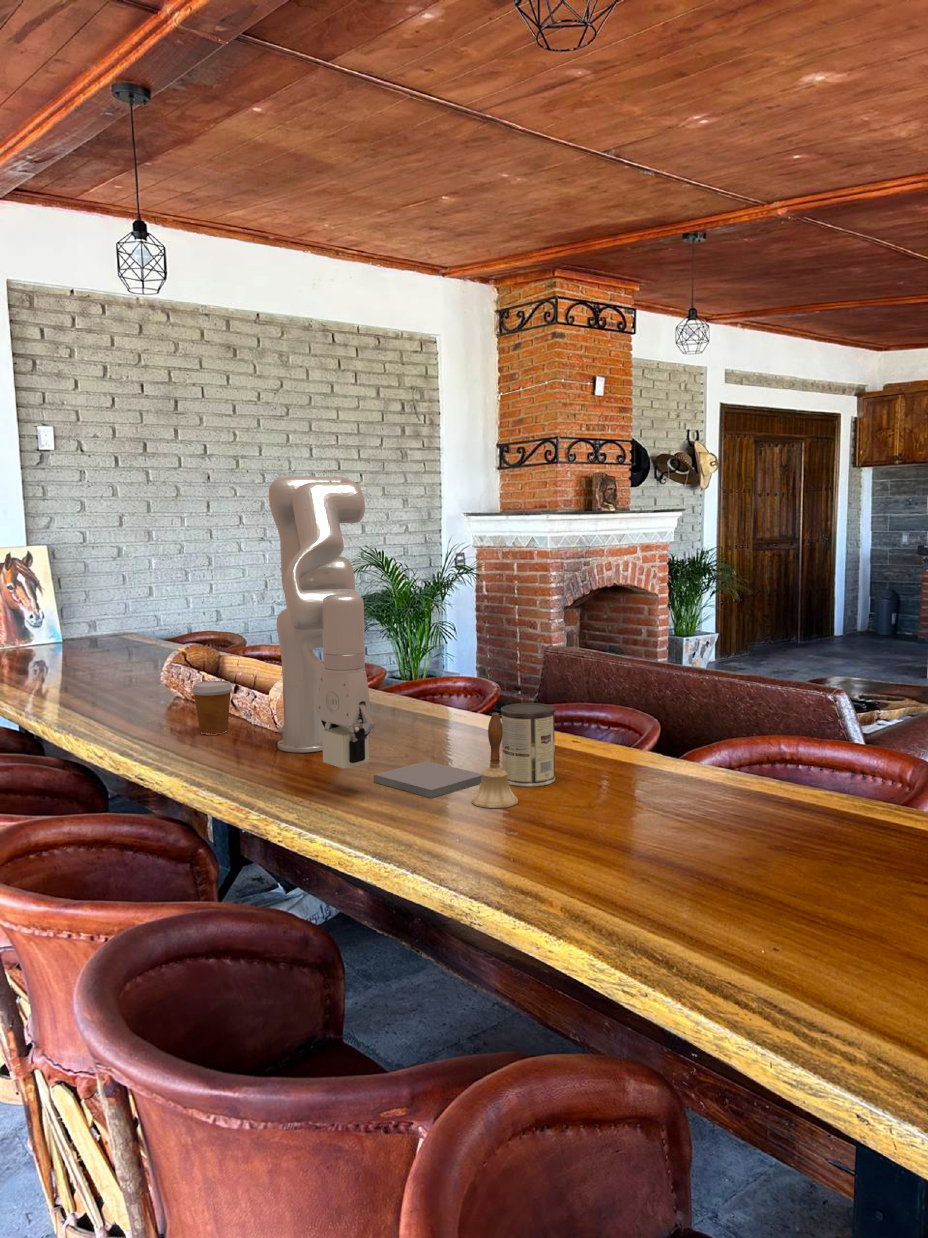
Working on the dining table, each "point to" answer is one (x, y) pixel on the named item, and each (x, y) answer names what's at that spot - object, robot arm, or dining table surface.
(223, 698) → the disposable coffee cup
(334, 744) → the cube
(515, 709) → the coffee can
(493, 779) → the hand bell
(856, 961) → the dining table surface
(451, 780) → the slate board
